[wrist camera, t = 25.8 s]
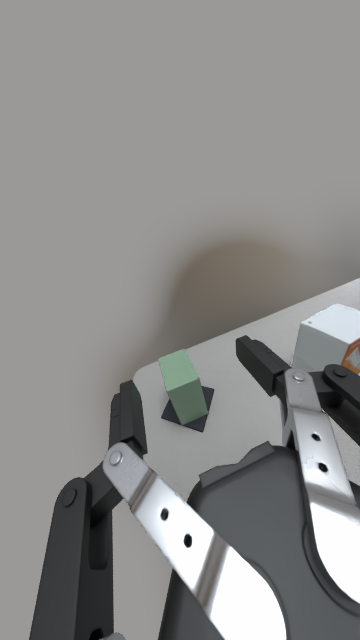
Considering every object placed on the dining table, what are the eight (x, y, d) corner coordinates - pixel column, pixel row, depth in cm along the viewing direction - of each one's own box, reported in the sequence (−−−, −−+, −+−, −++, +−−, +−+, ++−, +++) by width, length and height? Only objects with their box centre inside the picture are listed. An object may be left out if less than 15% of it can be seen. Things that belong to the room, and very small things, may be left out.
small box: (324, 404, 27) (350, 344, 20) (288, 376, 33) (298, 321, 26) (356, 380, 29) (390, 318, 22) (317, 357, 34) (335, 301, 27)
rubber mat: (202, 432, 28) (202, 431, 28) (161, 418, 32) (161, 416, 31) (214, 389, 34) (214, 388, 34) (178, 381, 37) (177, 380, 37)
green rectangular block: (208, 413, 30) (199, 378, 24) (181, 425, 29) (166, 391, 24) (194, 382, 36) (184, 348, 30) (172, 391, 35) (157, 358, 30)
